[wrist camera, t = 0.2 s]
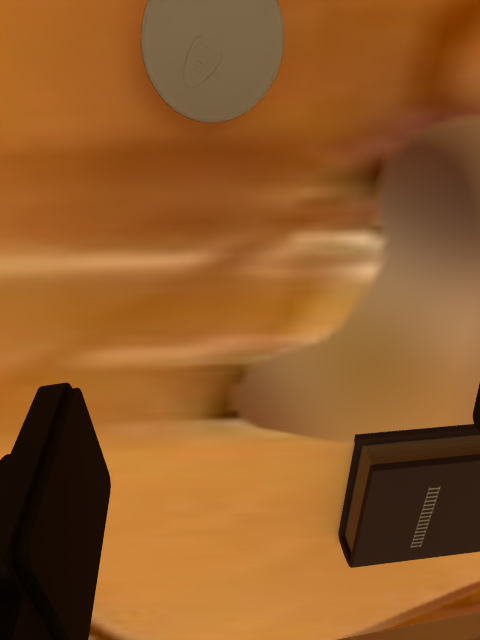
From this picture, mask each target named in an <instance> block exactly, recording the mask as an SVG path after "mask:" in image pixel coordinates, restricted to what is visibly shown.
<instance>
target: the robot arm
mask: <svg viewBox="0 0 480 640" xmlns="http://www.w3.org/2000/svg"><path fill="white" fill-rule="evenodd" d="M473 420H474V424H475V426H476V428H477V429H478V431H479V432H480V384H479V389H478V393H477V398H476V402H475V407H474V411H473ZM110 489H111V483H110V475H109V472H108V469H107V466H106V463H105V460H104V457H103V454H102V451H101V448H100V445H99V442H98V439H97V436H96V433H95V430H94V427H93V424H92V421H91V418H90V415H89V412H88V410H87V407H86V404H85V401H84V398H83V395H82V392H81V390H80V389H79V388H73V389H72V387H71V385H70V384H69V383H61V384H54V385H47V386H41V387H39V389H38V390H37V393H36V395H35V398H34V400H33V402H32V405H31V407H30V409H29V412H28V414H27V416H26V419H25V421H24V423H23V426H22V428H21V430H20V433H19V435H18V438H17V440H16V442H15V445H14V447H13V449H12V452H11V454H8V455H5V456H4V457H3V458H2V459H1V460H0V640H88V637H89V631H90V624H91V617H92V611H93V604H94V597H95V591H96V584H97V577H98V570H99V564H100V557H101V550H102V544H103V537H104V530H105V524H106V517H107V510H108V503H109V497H110ZM338 640H480V612H475V613H470V614H465V615H460V616H454V617H449V618H444V619H439V620H434V621H429V622H424V623H419V624H414V625H409V626H404V627H399V628H394V629H389V630H384V631H379V632H373V633H368V634H363V635H358V636H353V637H348V638H343V639H338Z"/></svg>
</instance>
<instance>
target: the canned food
mask: <svg viewBox="0 0 480 640" xmlns="http://www.w3.org/2000/svg"><path fill="white" fill-rule="evenodd" d="M283 46H284V26H283V20H282V15H281V10H280V7H279V4H278V1H277V0H148V3H147V5H146V8H145V11H144V16H143V21H142V26H141V48H142V55H143V61H144V64H145V68H146V71H147V74H148V77H149V79H150V80H151V82H152V84H153V86H154V88H155V90H156V91H157V93H158V94H159V95H160V96H161V98H162V99H163V100H164V102H166V103H167V104H168V105H169V106H170V107H171V108H172V109H174V110H175V111H176V112H178V113H180V114H181V115H183V116H185V117H187V118H190V119H193V120H196V121H199V122H209V123H215V122H223V121H227V120H230V119H233V118H236V117H238V116H240V115H242V114H243V113H245V112H247V111H249V110H250V109H251V108H252V107H253V106H254V105H256V104H257V103H258V102H259V101H260V100H261V99H262V97H263V96H264V95H265V93H266V92H267V91H268V90H269V88H270V86H271V84H272V82H273V80H274V79H275V77H276V74H277V71H278V68H279V65H280V62H281V58H282V52H283Z"/></svg>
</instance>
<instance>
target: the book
mask: <svg viewBox="0 0 480 640" xmlns="http://www.w3.org/2000/svg"><path fill="white" fill-rule="evenodd" d="M354 442H355V445H354V451H353V456H352V462H351V467H350V473H349V478H348V484H347V489H346V495H345V500H344V505H343V511H342V516H341V522H340V527H339V540H340V543H341V547H342V550H343V553H344V556H345V558H346V561H347V563H348V565H349V566H350V567H351V568H353V567H361V566H369V565H377V564H385V563H393V562H400V561H408V560H416V559H424V558H432V557H440V556H448V555H456V554H464V553H472V552H480V432H479V431H478V429H477V428H476V426H475V424H467V425H456V426H445V427H433V428H422V429H410V430H399V431H388V432H377V433H366V434H355V437H354Z"/></svg>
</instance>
